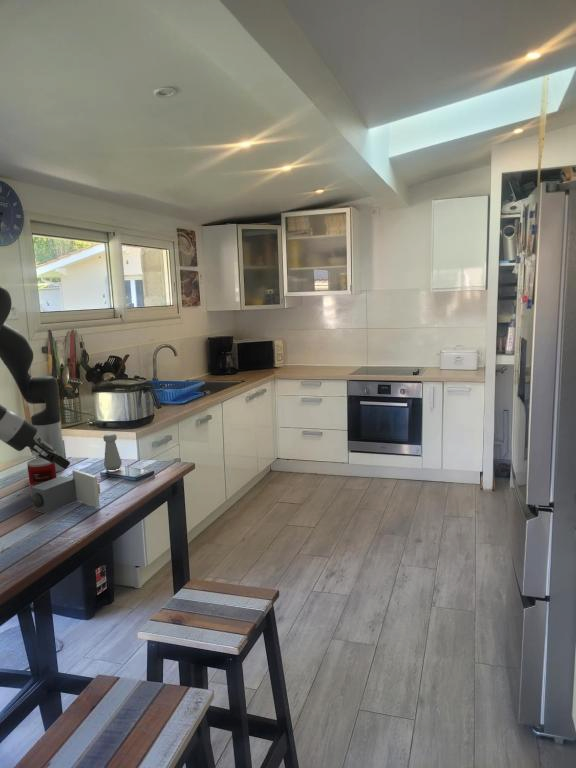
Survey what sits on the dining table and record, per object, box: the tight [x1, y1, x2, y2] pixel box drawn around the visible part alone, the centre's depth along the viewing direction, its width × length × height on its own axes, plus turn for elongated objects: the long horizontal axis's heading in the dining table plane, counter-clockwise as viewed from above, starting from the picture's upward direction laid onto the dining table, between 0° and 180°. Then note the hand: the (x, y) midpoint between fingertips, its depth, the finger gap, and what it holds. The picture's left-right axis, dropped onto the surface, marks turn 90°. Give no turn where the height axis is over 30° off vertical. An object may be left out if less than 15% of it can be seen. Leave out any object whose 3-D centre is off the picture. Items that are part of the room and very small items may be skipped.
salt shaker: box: [103, 432, 122, 471], centre depth 192 cm, size 6×6×13 cm
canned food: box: [27, 457, 57, 496], centre depth 171 cm, size 8×8×11 cm
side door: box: [74, 469, 101, 509], centre depth 162 cm, size 10×2×9 cm, turn 51°
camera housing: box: [30, 469, 78, 515], centre depth 162 cm, size 12×6×9 cm, turn 149°
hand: (67, 465), depth 155 cm, fingers closed
